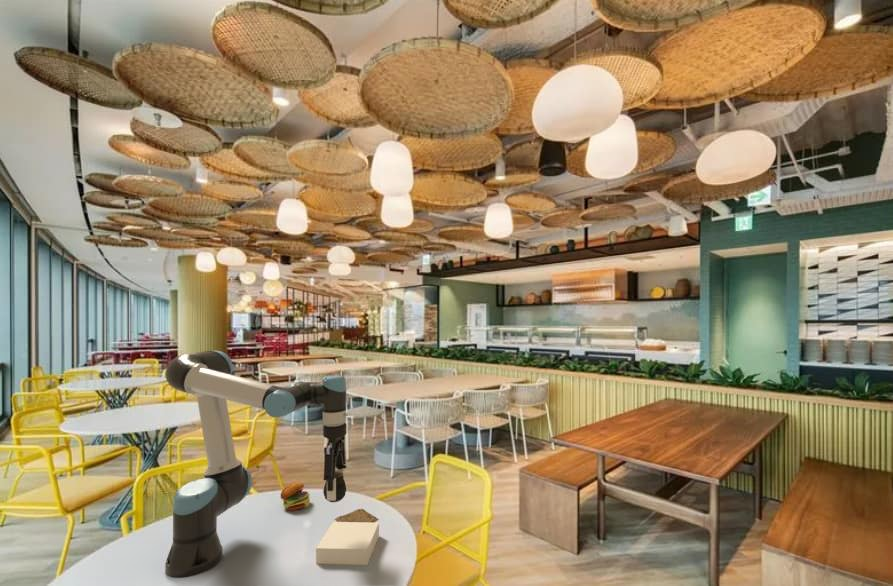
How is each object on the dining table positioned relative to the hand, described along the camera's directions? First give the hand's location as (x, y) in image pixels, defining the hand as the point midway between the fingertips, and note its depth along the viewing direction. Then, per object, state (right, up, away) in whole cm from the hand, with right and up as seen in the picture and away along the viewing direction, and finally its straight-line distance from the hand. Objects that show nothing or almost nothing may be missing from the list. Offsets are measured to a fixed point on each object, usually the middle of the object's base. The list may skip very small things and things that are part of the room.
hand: (335, 494), depth 134 cm
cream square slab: (+5, -18, 0) cm, 19 cm away
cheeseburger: (-24, -20, +30) cm, 43 cm away
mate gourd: (0, -2, 0) cm, 2 cm away
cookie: (+3, -19, +19) cm, 27 cm away
